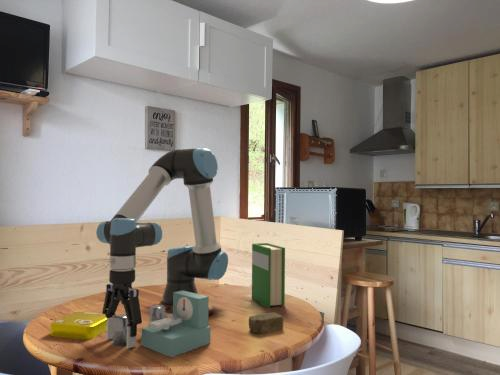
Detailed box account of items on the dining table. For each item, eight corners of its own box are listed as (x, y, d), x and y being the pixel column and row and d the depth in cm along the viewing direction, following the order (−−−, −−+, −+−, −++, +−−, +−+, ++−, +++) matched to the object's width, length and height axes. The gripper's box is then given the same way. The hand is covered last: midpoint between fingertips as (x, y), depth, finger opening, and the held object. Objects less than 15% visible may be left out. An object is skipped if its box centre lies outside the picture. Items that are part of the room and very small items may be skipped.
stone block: (247, 330, 139) (247, 315, 139) (275, 325, 145) (275, 311, 146) (256, 335, 134) (257, 320, 135) (285, 330, 141) (285, 315, 141)
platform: (173, 325, 127) (173, 315, 127) (182, 328, 124) (182, 318, 124) (149, 332, 120) (149, 322, 120) (157, 336, 118) (157, 325, 118)
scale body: (180, 333, 135) (180, 290, 136) (210, 343, 126) (210, 297, 127) (141, 345, 124) (142, 298, 124) (171, 357, 115) (172, 306, 115)
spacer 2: (158, 328, 140) (158, 304, 141) (167, 331, 137) (168, 306, 137) (146, 331, 137) (146, 307, 137) (155, 335, 133) (155, 310, 134)
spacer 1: (123, 339, 129) (124, 313, 129) (133, 343, 126) (133, 316, 126) (109, 343, 125) (109, 316, 126) (118, 347, 122) (119, 320, 122)
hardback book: (284, 306, 170) (285, 247, 170) (268, 308, 167) (268, 248, 168) (266, 296, 186) (267, 243, 187) (251, 297, 184) (252, 243, 184)
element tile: (115, 326, 143) (115, 312, 143) (89, 341, 128) (90, 325, 128) (76, 323, 146) (76, 309, 146) (47, 337, 131) (47, 322, 131)
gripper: (91, 266, 131) (89, 337, 130) (133, 275, 116) (131, 355, 115) (113, 263, 136) (111, 331, 136) (155, 272, 122) (154, 348, 121)
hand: (120, 342), depth 125 cm, fingers open, 10 cm apart
